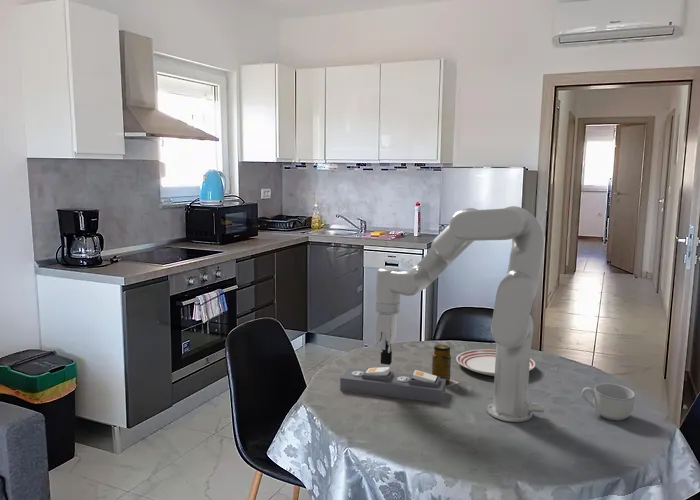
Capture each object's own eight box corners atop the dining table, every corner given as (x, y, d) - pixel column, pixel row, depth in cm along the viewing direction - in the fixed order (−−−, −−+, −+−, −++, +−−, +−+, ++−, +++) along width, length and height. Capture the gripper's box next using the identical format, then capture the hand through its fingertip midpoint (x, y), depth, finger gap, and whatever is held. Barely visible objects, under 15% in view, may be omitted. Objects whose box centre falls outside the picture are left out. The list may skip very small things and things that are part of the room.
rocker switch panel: (445, 391, 184) (445, 375, 183) (441, 403, 175) (441, 386, 174) (349, 379, 193) (349, 364, 192) (340, 390, 184) (340, 374, 183)
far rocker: (390, 370, 186) (389, 366, 185) (387, 375, 181) (386, 371, 181) (369, 371, 188) (368, 367, 188) (366, 376, 183) (365, 372, 183)
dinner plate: (440, 366, 208) (440, 357, 207) (484, 351, 226) (485, 343, 225) (506, 388, 188) (507, 379, 187) (549, 370, 206) (550, 361, 205)
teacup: (634, 413, 169) (636, 387, 168) (631, 427, 160) (633, 400, 159) (583, 403, 176) (585, 378, 175) (577, 416, 167) (579, 389, 166)
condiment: (440, 376, 198) (441, 342, 196) (459, 383, 191) (461, 348, 190) (425, 380, 193) (426, 346, 192) (444, 388, 187) (446, 352, 185)
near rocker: (436, 379, 182) (437, 375, 181) (434, 384, 177) (435, 380, 177) (414, 373, 183) (415, 369, 183) (412, 378, 179) (412, 374, 179)
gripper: (381, 301, 189) (380, 355, 192) (370, 311, 175) (368, 369, 177) (404, 303, 187) (402, 357, 189) (394, 313, 173) (392, 372, 175)
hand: (386, 363), depth 183 cm, fingers closed
